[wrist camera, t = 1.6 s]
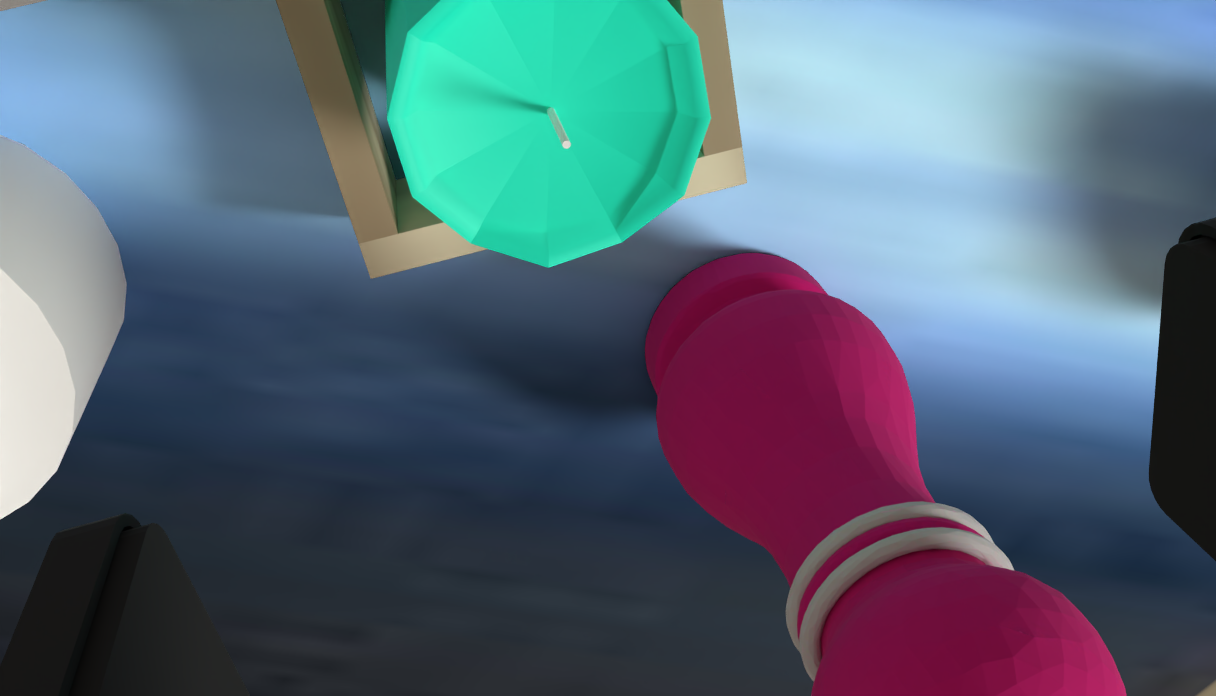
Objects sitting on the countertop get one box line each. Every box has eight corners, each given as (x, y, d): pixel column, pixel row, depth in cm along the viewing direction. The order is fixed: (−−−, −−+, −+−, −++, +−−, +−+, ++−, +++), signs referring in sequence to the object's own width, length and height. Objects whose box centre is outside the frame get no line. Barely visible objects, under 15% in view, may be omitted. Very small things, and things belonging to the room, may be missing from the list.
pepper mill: (582, 358, 34) (784, 963, 17) (741, 190, 33) (1144, 677, 15) (734, 468, 38) (1033, 1071, 20) (886, 321, 36) (1354, 845, 19)
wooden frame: (649, -247, 27) (688, -248, 23) (707, 136, 32) (747, 182, 28) (247, -157, 26) (227, -142, 23) (371, 220, 31) (370, 278, 28)
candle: (339, -45, 28) (314, 77, 17) (545, -164, 27) (647, -112, 17) (459, 152, 31) (499, 357, 20) (646, 48, 30) (786, 202, 20)
